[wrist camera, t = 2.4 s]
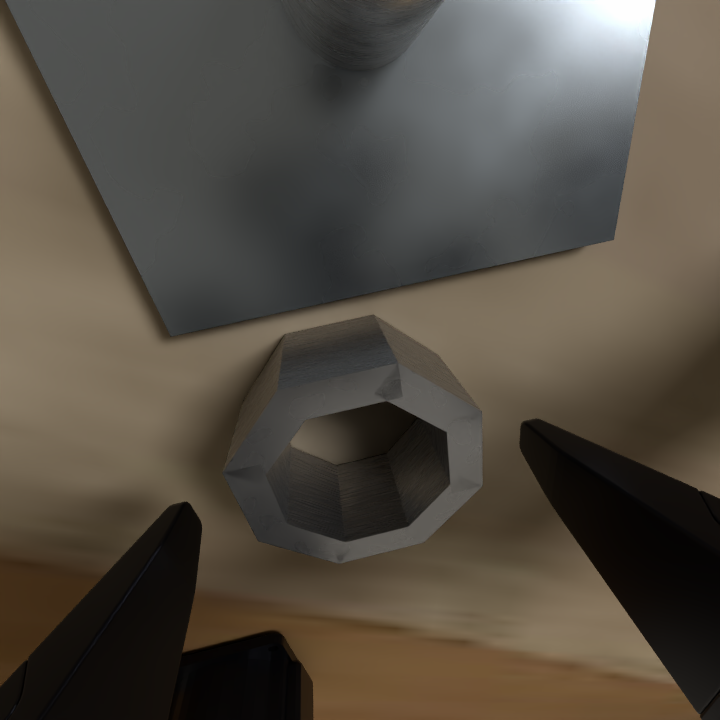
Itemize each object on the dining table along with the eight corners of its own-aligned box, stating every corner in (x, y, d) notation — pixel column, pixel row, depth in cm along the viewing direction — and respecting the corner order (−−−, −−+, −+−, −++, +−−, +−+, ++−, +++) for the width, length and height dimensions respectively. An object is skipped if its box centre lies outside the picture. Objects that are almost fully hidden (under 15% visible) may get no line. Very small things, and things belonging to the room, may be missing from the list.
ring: (283, 496, 13) (277, 579, 10) (221, 348, 10) (189, 410, 7) (446, 457, 13) (482, 527, 10) (435, 301, 10) (481, 344, 7)
